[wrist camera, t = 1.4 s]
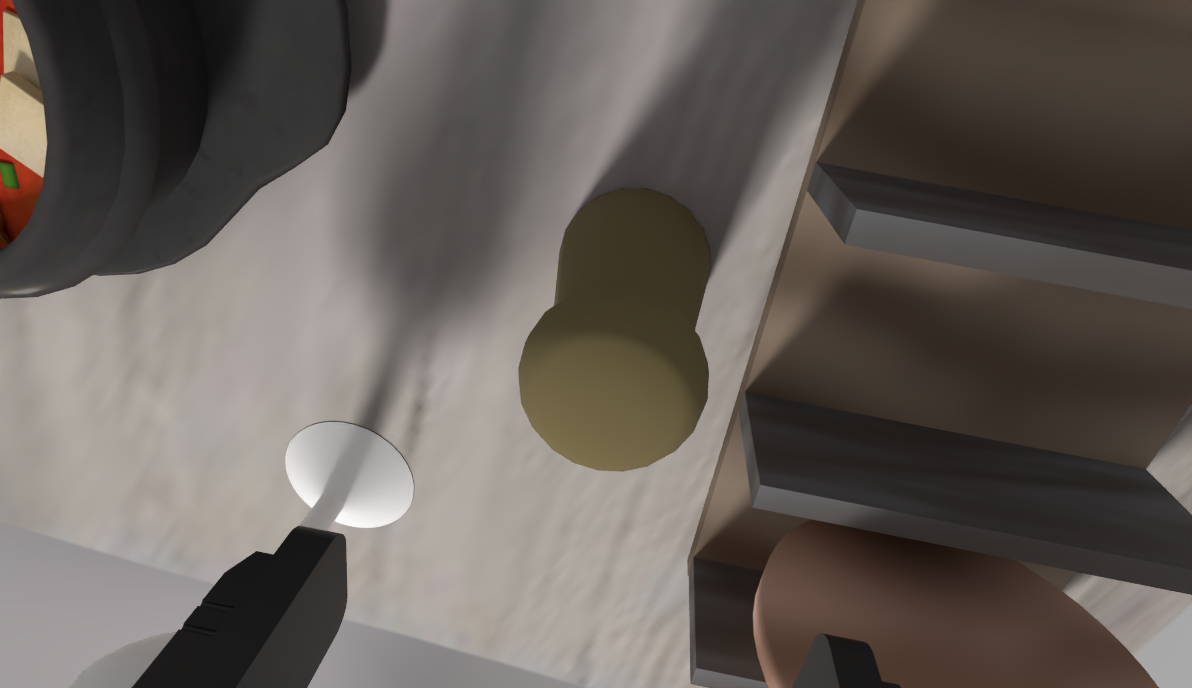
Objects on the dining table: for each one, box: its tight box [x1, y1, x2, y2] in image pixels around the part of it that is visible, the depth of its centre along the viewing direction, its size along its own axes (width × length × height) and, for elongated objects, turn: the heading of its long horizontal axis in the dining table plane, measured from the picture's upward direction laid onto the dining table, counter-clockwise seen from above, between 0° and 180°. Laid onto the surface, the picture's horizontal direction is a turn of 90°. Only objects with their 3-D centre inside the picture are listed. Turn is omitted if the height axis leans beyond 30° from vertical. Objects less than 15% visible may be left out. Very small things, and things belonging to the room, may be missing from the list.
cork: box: [519, 189, 710, 471], centre depth 21 cm, size 6×6×11 cm
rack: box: [688, 0, 1192, 688], centre depth 19 cm, size 30×16×15 cm, turn 171°
